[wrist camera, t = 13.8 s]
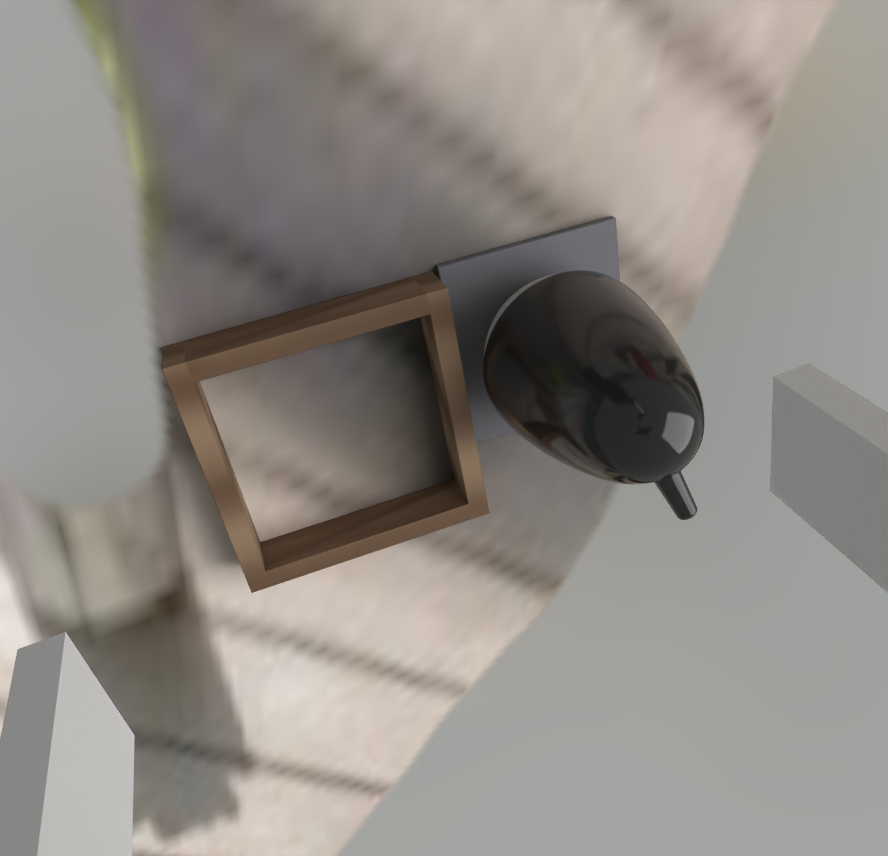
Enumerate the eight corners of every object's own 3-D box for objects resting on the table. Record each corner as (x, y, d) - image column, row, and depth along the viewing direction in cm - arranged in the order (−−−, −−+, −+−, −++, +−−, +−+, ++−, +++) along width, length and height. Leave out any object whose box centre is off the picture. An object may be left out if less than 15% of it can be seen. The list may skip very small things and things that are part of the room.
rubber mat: (436, 265, 46) (438, 267, 46) (611, 216, 48) (615, 218, 48) (469, 441, 52) (471, 444, 52) (624, 391, 54) (627, 395, 54)
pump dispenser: (503, 439, 52) (613, 584, 40) (434, 309, 47) (536, 429, 34) (638, 358, 53) (791, 477, 40) (586, 219, 47) (744, 305, 34)
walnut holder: (162, 347, 44) (161, 369, 41) (432, 271, 46) (447, 287, 44) (247, 563, 52) (251, 592, 49) (474, 488, 54) (489, 512, 52)
